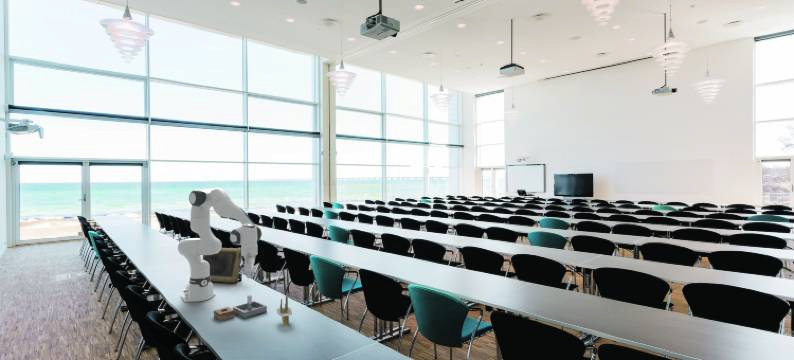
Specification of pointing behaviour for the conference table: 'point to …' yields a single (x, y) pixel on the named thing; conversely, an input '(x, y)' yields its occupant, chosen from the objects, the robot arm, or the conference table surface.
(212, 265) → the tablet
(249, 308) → the pin
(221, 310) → the block
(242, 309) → the gray tray
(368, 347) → the conference table surface
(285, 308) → the architectural model
